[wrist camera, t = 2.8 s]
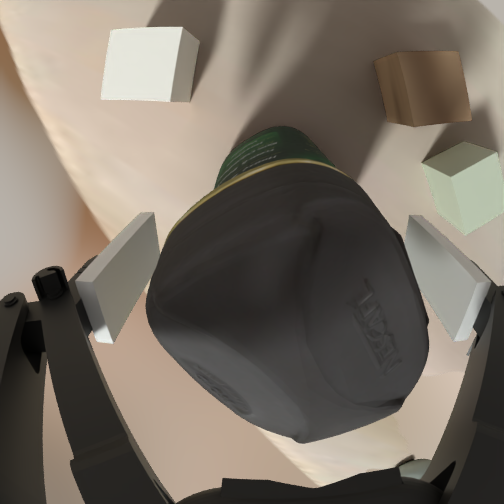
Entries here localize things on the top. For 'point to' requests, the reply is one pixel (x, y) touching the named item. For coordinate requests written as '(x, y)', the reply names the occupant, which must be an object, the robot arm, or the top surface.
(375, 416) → the coffee jar
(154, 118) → the top surface
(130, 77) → the off-white block
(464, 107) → the walnut block
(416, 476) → the air freshener
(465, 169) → the sage block
